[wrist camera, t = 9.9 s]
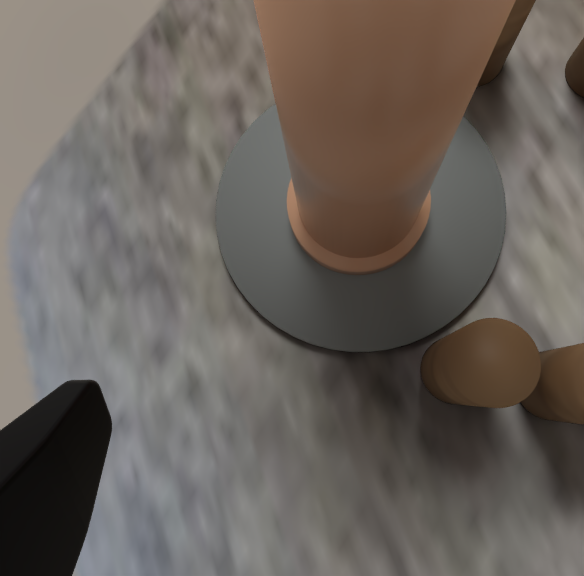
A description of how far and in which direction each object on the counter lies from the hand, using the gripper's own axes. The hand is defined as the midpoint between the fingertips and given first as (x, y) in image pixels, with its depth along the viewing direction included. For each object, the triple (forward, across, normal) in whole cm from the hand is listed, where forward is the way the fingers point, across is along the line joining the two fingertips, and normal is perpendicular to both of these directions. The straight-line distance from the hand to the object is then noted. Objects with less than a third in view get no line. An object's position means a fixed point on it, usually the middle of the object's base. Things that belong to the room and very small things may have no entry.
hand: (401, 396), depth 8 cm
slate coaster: (+13, 0, +3) cm, 14 cm away
